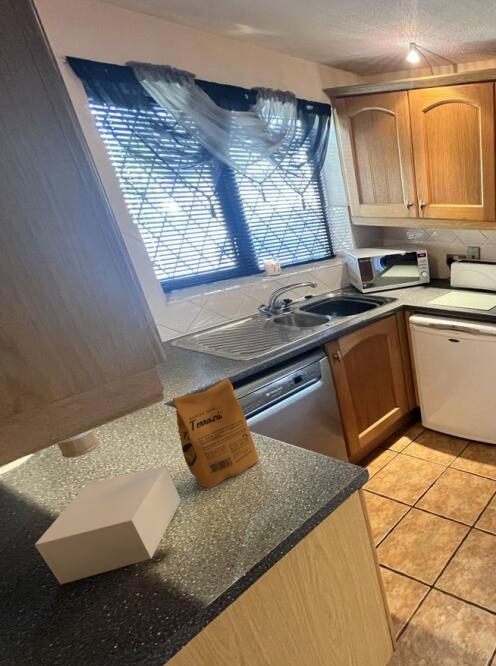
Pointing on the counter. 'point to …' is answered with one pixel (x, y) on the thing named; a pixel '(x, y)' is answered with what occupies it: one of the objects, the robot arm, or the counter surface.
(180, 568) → the counter surface
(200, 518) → the counter surface
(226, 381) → the coffee package
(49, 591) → the counter surface
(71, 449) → the sprinkles bottle
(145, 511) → the beige rectangular block
